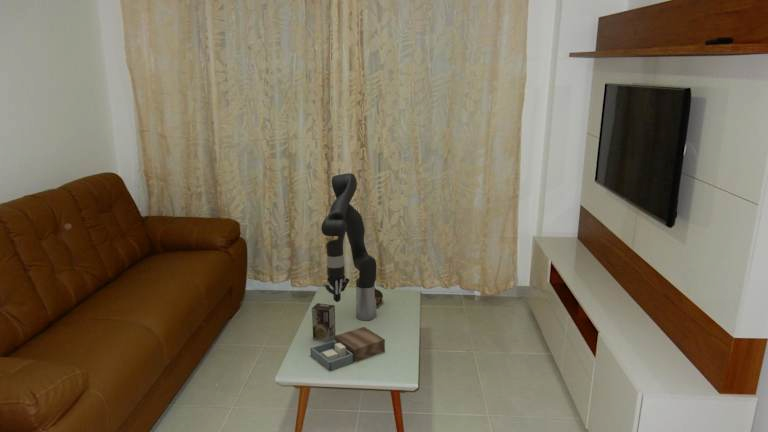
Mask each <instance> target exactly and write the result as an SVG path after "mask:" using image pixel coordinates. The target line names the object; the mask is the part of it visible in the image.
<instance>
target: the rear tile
mask: <svg viewBox="0 0 768 432" xmlns="http://www.w3.org/2000/svg"><path fill="white" fill-rule="evenodd" d="M335 352H336V353H338V357H339V358H341V357H344V356H346V347H345V346H344V345H342V344H341V343H337V344H335Z"/></svg>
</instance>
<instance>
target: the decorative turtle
mask: <svg viewBox="0 0 768 432" xmlns="http://www.w3.org/2000/svg"><path fill="white" fill-rule="evenodd" d="M374 291H375V299H376V306H379V305H381V303H382V301H383V297H384V295H383V292H381V290H379V289H377V288H376V287H375V286H374Z"/></svg>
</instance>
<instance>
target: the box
mask: <svg viewBox="0 0 768 432" xmlns="http://www.w3.org/2000/svg"><path fill="white" fill-rule="evenodd" d="M335 344H337V342H335V339H333V341H330V342H323V343H321V344H318V345H315V346H312V347H310V348H309V350H310V357H311V358H312V359H314V360H315V361H316V362H317V363H319V364H320V365H321V366H323V367H324V368H325V369H326V370H328V371H329V372H332V371H334V370H338V369H340V368H343V367H346V366H349V365H351V364H354V363H355V362H354V354H353V353H351V352H350V351H348V350H347V349H346V356H344V357H341V358H339V357H338V359H335V360H333V361H329V360H328V359H327V358H325V357H324V356H323V355H322V352H324V351H327V350H331V349H333V350H334V351H335Z"/></svg>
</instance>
